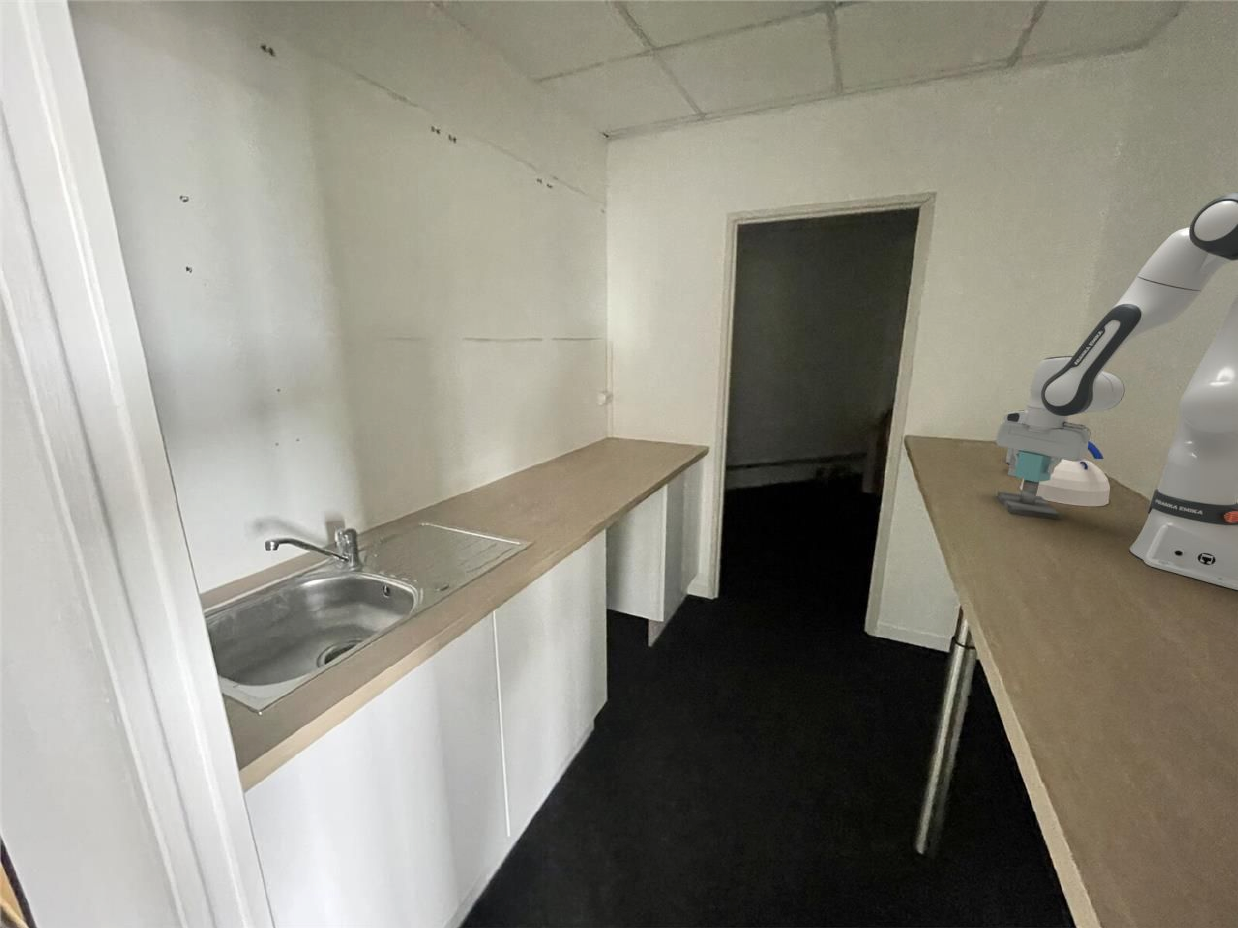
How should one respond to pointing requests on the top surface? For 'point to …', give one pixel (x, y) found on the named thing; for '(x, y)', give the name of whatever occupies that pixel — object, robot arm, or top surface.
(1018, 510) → the post stand
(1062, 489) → the kettle
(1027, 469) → the teal cube
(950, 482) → the top surface
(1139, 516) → the top surface
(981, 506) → the top surface
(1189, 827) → the top surface
